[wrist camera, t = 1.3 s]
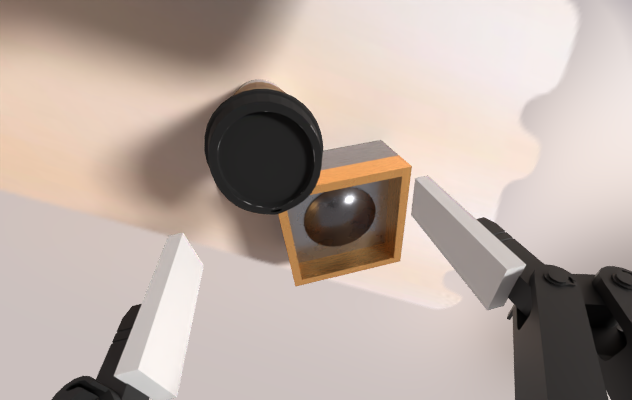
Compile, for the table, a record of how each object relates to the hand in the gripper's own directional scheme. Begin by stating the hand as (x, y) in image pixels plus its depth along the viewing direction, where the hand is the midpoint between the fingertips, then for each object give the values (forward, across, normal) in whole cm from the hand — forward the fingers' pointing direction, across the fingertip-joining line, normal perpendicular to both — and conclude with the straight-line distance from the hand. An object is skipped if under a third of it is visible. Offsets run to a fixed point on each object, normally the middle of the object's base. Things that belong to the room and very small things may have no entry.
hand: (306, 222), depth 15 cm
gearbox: (+19, +5, -13) cm, 23 cm away
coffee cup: (+19, -2, +2) cm, 19 cm away
